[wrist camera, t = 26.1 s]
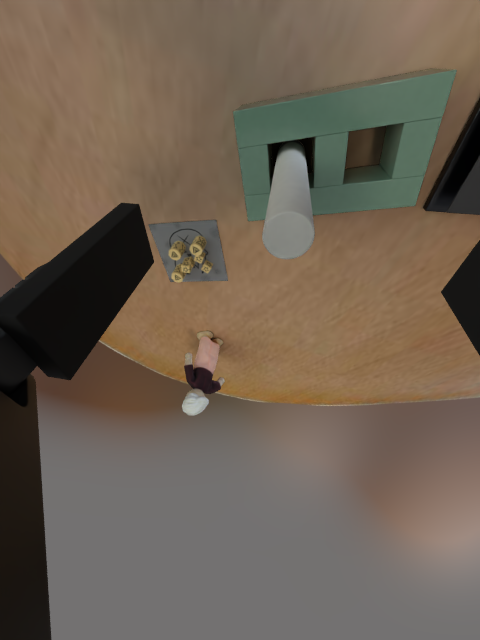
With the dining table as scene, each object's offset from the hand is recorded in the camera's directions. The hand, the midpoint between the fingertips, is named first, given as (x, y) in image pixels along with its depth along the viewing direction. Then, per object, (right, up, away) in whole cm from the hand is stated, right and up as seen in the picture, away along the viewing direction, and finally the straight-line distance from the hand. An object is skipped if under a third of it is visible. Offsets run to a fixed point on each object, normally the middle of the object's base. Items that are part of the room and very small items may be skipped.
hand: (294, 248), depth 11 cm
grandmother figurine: (-7, -6, +32) cm, 33 cm away
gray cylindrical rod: (+2, +11, +12) cm, 17 cm away
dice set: (-8, +5, +21) cm, 23 cm away
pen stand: (+5, +12, +11) cm, 17 cm away
